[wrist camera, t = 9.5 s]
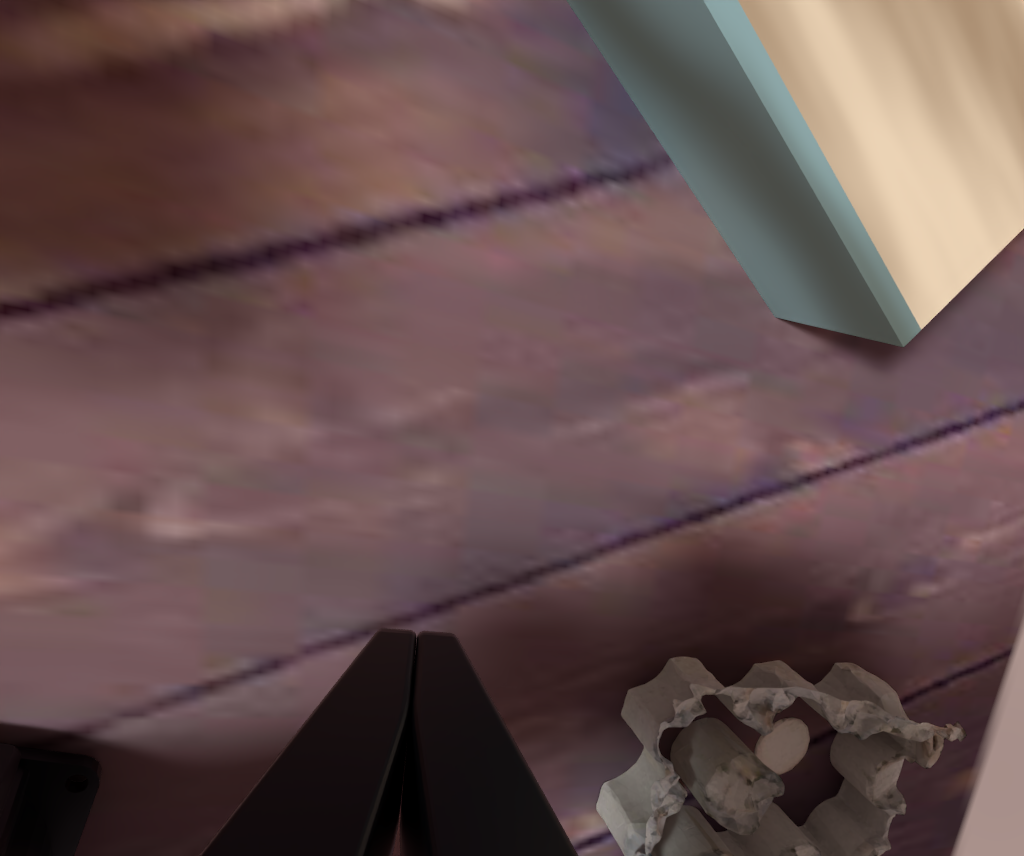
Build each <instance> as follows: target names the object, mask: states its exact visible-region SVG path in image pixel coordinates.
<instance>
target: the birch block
mask: <svg viewBox="0 0 1024 856" xmlns="http://www.w3.org/2000/svg"><path fill="white" fill-rule="evenodd" d="M567 2H568V3H569V5H570V6H571V8H572V9H573V11H574V12H575V14H576V15H577V17H578V18H579V20H580V21H581V23H582V24H583V26H584V28H585V29H586V31H587V32H588V34H589V35H590V37H591V38H592V40H593V41H594V43H595V44H596V46H597V47H598V49H599V50H600V52H601V53H602V55H603V56H604V58H605V59H606V61H607V62H608V64H609V66H610V67H611V69H612V70H613V72H614V73H615V75H616V76H617V78H618V79H619V81H620V82H621V84H622V85H623V87H624V88H625V90H626V91H627V93H628V94H629V96H630V97H631V99H632V100H633V102H634V104H635V105H636V107H637V108H638V110H639V111H640V113H641V114H642V116H643V117H644V119H645V120H646V122H647V123H648V125H649V126H650V128H651V129H652V131H653V132H654V134H655V135H656V137H657V139H658V140H659V142H660V143H661V145H662V146H663V148H664V149H665V151H666V152H667V154H668V155H669V157H670V158H671V160H672V161H673V163H674V164H675V166H676V167H677V169H678V170H679V172H680V173H681V175H682V177H683V178H684V180H685V181H686V183H687V184H688V186H689V187H690V189H691V190H692V192H693V193H694V195H695V196H696V198H697V199H698V201H699V202H700V204H701V205H702V207H703V208H704V210H705V211H706V213H707V215H708V216H709V218H710V219H711V221H712V222H713V224H714V225H715V227H716V228H717V230H718V231H719V233H720V234H721V236H722V237H723V239H724V240H725V242H726V243H727V245H728V246H729V248H730V249H731V251H732V253H733V254H734V256H735V257H736V259H737V260H738V262H739V263H740V265H741V266H742V268H743V269H744V271H745V272H746V274H747V275H748V277H749V278H750V280H751V281H752V283H753V284H754V286H755V288H756V289H757V291H758V292H759V294H760V295H761V297H762V298H763V300H764V301H765V303H766V304H767V306H768V307H769V309H770V310H771V312H772V313H773V315H774V316H775V317H776V318H781V319H785V320H789V321H793V322H798V323H802V324H806V325H811V326H815V327H819V328H823V329H828V330H832V331H836V332H840V333H845V334H849V335H853V336H858V337H862V338H866V339H870V340H875V341H879V342H883V343H888V344H892V345H896V346H900V347H904V346H905V345H906V344H907V343H908V342H909V341H910V340H911V339H913V338H914V337H915V336H916V335H917V334H918V333H919V332H920V331H921V330H922V329H923V328H924V327H925V326H926V325H927V324H928V323H929V322H930V321H931V320H932V319H933V318H934V317H935V316H936V315H937V314H938V313H939V312H940V311H941V310H942V309H943V308H944V307H945V306H946V305H947V304H948V303H949V302H950V301H951V300H952V299H953V298H954V297H955V296H956V295H957V294H958V293H959V292H960V291H961V290H962V289H963V288H964V287H965V286H966V285H967V284H968V283H969V282H970V281H971V280H972V279H973V278H974V277H975V276H976V275H977V274H978V273H979V272H980V271H981V270H982V269H983V268H984V267H985V266H986V265H987V264H988V263H989V262H990V261H991V260H992V259H993V258H994V257H995V256H996V255H997V254H998V253H999V252H1000V251H1001V250H1002V249H1003V248H1004V247H1005V246H1006V245H1007V244H1008V243H1009V242H1010V241H1011V240H1012V239H1013V238H1015V237H1016V236H1017V235H1018V234H1019V233H1020V232H1021V231H1022V230H1023V229H1024V0H567Z"/></svg>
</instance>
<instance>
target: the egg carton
mask: <svg viewBox="0 0 1024 856" xmlns="http://www.w3.org/2000/svg"><path fill="white" fill-rule="evenodd" d="M703 695H715V696H716V697H717V698H718V699H719V700H720V701H721V702H722V703H723V704H724V705H725V706H726V707H727V708H728V709H729V711H730V712H731V713H732V714H733V715H734V716H735V717H736V718H737V719H738V720H740V721H741V722H742V723H744V724H745V725H747V726H750V727H752V728H753V729H755V730H756V731H757V732H759V733H760V734H761V736H760V737H759V739H758V741H757V743H756V745H755V751H754V753H753V752H752V751H751V750H750V749H749V748H748V747H747V746H746V745H745V744H744V743H743V742H742V741H741V740H740V739H739V738H738V737H737V736H736V735H735V734H734V733H733V732H732V730H731V729H730V728H729V727H728V726H727V725H726V724H724V723H723V722H722V721H720V720H718V719H717V718H708V717H707V718H703V719H699V720H696V721H694V722H692V721H693V719H694V718H695V717H696V716H699V715H702V714H706V710H705V708H704V706H703V704H702V702H701V698H702V696H703ZM798 696H799V697H800V698H802V699H803V700H804V701H805V702H806V703H807V704H808V705H809V706H811V707H812V708H813V709H814V710H815V711H816V712H818V713H819V714H820V715H821V716H823V717H824V718H825V719H826V720H827V721H828V722H829V723H830V724H831V726H832V727H833V728H834V729H835V730H837V731H838V733H837V735H836V736H835V738H834V740H833V743H832V745H831V751H830V761H831V764H832V765H833V767H834V768H835V769H836V770H837V771H838V772H839V773H840V774H841V775H842V776H843V777H844V778H845V779H844V781H843V782H842V785H841V788H840V790H839V792H838V794H837V795H836V796H835V797H833V798H830V799H828V800H825V801H824V802H822V803H821V804H819V805H818V806H817V807H816V808H815V809H814V810H813V811H812V812H811V814H810V815H809V817H808V819H807V821H806V822H805V824H804V825H803V826H799V827H797V826H796V825H795V824H794V823H793V821H792V820H791V819H790V818H789V817H788V816H787V815H786V814H785V813H784V812H783V811H782V809H781V808H780V807H779V806H778V805H777V804H775V803H773V802H772V801H773V798H774V797H779V796H781V795H783V793H784V790H785V786H784V784H783V782H782V779H781V777H780V776H778V775H780V774H783V773H785V772H787V771H790V770H792V769H793V768H794V766H795V765H797V764H798V763H799V762H800V761H801V759H802V758H803V757H804V755H805V754H806V752H807V749H808V745H809V742H810V737H809V735H810V734H809V731H808V727H807V725H806V724H805V723H804V722H803V721H802V720H801V719H797V718H794V717H790V718H787V719H786V718H784V719H783V720H781V719H780V720H778V721H777V722H775V723H773V719H774V717H775V715H776V714H777V713H780V712H781V711H782V710H784V709H786V708H788V707H789V706H790V705H792V704H793V702H794V701H795V699H796V698H797V697H798ZM621 716H622V718H623V719H624V720H625V721H626V723H627V724H628V726H629V727H630V728H631V729H632V730H633V731H634V733H635V734H636V736H637V737H638V739H639V740H640V742H641V743H642V744H643V746H644V749H643V751H642V754H641V756H640V757H639V759H638V761H637V762H636V763H635V764H634V765H633V766H632V767H631V768H630V769H629V770H628V771H626V772H625V773H623V774H622V775H620V776H618V777H617V778H616V779H615V778H614V779H612V780H610V781H607V782H605V783H604V784H603V786H602V788H601V791H600V796H599V800H598V802H597V804H596V805H597V808H596V810H597V811H598V813H599V814H600V816H601V817H602V819H603V820H604V821H605V823H606V824H607V827H608V828H609V830H610V831H611V833H612V835H613V836H614V838H615V840H616V841H617V843H618V845H619V846H620V848H621V850H622V852H623V854H624V856H880V855H881V854H883V853H884V852H885V851H886V850H890V849H891V845H890V843H889V840H888V838H887V837H888V832H889V827H890V824H891V822H892V819H893V818H894V817H895V816H896V814H899V815H904V814H905V812H906V803H905V800H904V797H903V795H902V794H901V793H900V791H899V790H898V789H897V787H896V782H897V780H898V777H899V774H900V771H901V768H902V765H903V762H904V759H906V760H907V761H909V762H910V763H913V762H916V763H917V764H919V765H921V766H922V767H924V768H925V769H927V768H931V767H932V766H933V765H934V764H935V762H936V761H937V760H938V758H939V756H940V754H941V751H942V748H943V745H944V739H948V740H950V741H954V740H956V739H959V741H962V740H963V739H964V738H965V737H966V736H967V735H966V732H965V730H964V729H963V728H962V727H961V725H960V724H959V723H958V722H956V723H955V724H954V726H953V725H951V724H946V725H945V726H944V727H938V726H935V725H932V724H929V723H917V722H914V721H912V720H909V718H908V717H907V715H906V713H905V712H904V710H903V708H902V705H901V702H900V700H899V697H898V695H897V693H896V692H895V691H894V690H893V689H892V688H891V687H890V686H889V685H888V684H887V683H886V682H885V681H883V680H881V679H880V678H878V677H877V676H875V675H873V674H871V673H869V672H867V671H865V670H864V669H862V668H861V667H859V666H858V665H856V664H853V663H848V662H845V663H835V664H834V666H833V667H832V669H831V671H830V672H829V673H828V674H827V675H826V676H825V677H824V678H823V679H822V680H821V681H820V682H819V683H817V684H815V685H813V684H812V683H810V682H808V681H806V680H805V679H803V678H802V677H801V676H800V675H799V674H798V673H797V672H795V671H793V670H792V669H791V668H790V667H789V666H788V665H787V664H785V663H784V662H782V661H781V660H776V661H770V662H765V663H756V664H754V665H753V667H752V668H751V669H750V671H749V672H748V673H747V674H746V675H745V676H744V678H743V679H742V680H741V681H739V682H737V683H735V684H734V685H731V686H728V687H724V686H723V685H722V684H721V683H720V682H719V681H717V680H716V678H715V677H714V676H713V675H712V674H711V673H710V672H708V671H707V670H706V668H705V667H704V666H703V664H702V663H701V662H700V661H699V660H698V659H697V658H691V657H675V658H671V659H669V660H668V662H667V663H666V665H665V667H664V668H663V670H662V671H661V672H660V673H659V674H658V676H657V677H655V678H654V679H653V680H651V681H649V682H648V683H646V684H643V685H640V686H637V687H635V688H632V689H629V690H628V692H627V695H626V698H625V701H624V706H623V709H622V712H621ZM691 722H692V723H691ZM668 727H685V728H684V729H683V730H682V731H681V732H680V733H679V734H678V736H677V738H676V739H675V741H674V742H673V744H672V746H671V753H670V760H671V762H670V761H669V760H667V759H666V758H664V757H663V756H662V754H661V753H660V750H659V747H658V745H659V739H660V737H661V734H662V732H663V730H665V729H666V728H668ZM674 770H675V771H676V772H675V771H674ZM680 778H681V780H682V781H683V782H684V784H685V785H686V786H687V787H688V789H689V790H690V791H691V793H692V794H693V795H694V797H695V798H696V800H697V801H698V802H699V804H700V805H701V806H702V808H703V809H704V811H705V812H706V814H707V815H709V816H710V817H712V818H713V819H715V820H716V821H717V822H718V823H719V824H720V825H722V826H723V827H725V828H726V829H728V830H727V831H723V832H715V831H714V829H713V828H712V827H711V825H710V824H709V823H708V822H707V820H706V819H705V818H704V817H703V815H702V814H701V813H700V811H699V810H698V809H697V808H695V807H692V806H687V805H683V803H684V801H685V798H686V797H687V792H686V790H685V789H684V788H683V786H682V785H681V784H680V783H679V781H678V780H679V779H680Z"/></svg>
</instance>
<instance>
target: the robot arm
mask: <svg viewBox="0 0 1024 856" xmlns="http://www.w3.org/2000/svg"><path fill="white" fill-rule="evenodd" d="M415 650H416V653H415ZM414 661H415V663H414ZM406 747H407V748H406ZM405 757H406V758H405ZM404 767H405V769H404ZM101 771H102V768H101V766H100V763H99V762H98V761H97V760H95V759H94V758H92V757H89V756H86V755H78V754H71V753H63V752H55V751H47V750H39V749H31V748H23V747H15V746H13V745H11V744H3V743H0V856H74V854H75V851H76V848H77V846H78V843H79V840H80V837H81V834H82V832H83V829H84V826H85V823H86V821H87V818H88V815H89V812H90V809H91V807H92V804H93V801H94V798H95V795H96V793H97V790H98V787H99V783H100V778H101ZM73 775H83V776H85V777H86V778H87V779H86V780H84V781H81V782H75V781H72V780H70V778H69V777H71V776H73ZM403 777H404V780H403ZM402 786H403V791H402ZM401 796H402V802H401ZM400 806H401V817H400V856H578V854H577V853H576V851H575V849H574V847H573V845H572V844H571V842H570V840H569V838H568V836H567V835H566V833H565V831H564V829H563V827H562V826H561V824H560V822H559V820H558V818H557V816H556V815H555V813H554V811H553V809H552V807H551V806H550V804H549V802H548V800H547V798H546V797H545V795H544V793H543V791H542V789H541V788H540V786H539V784H538V782H537V780H536V779H535V777H534V775H533V773H532V771H531V770H530V768H529V766H528V764H527V762H526V761H525V759H524V757H523V755H522V753H521V752H520V750H519V748H518V746H517V744H516V742H515V741H514V739H513V737H512V735H511V733H510V732H509V730H508V728H507V726H506V724H505V723H504V721H503V719H502V717H501V715H500V714H499V712H498V710H497V708H496V706H495V705H494V703H493V701H492V699H491V697H490V696H489V694H488V692H487V690H486V688H485V687H484V685H483V683H482V681H481V679H480V678H479V676H478V674H477V672H476V670H475V668H474V667H473V665H472V663H471V661H470V659H469V658H468V656H467V654H466V652H465V650H464V649H463V647H462V645H461V643H460V641H459V640H458V638H457V637H456V636H455V635H454V634H452V633H443V632H430V631H422V632H420V633H419V634H418V637H417V643H416V634H415V632H414V631H412V630H402V629H386V628H383V629H380V630H378V631H377V632H376V633H375V634H374V636H373V637H372V638H371V639H370V641H369V642H368V643H367V645H366V646H365V647H364V648H363V650H362V651H361V652H360V653H359V655H358V656H357V657H356V658H355V660H354V661H353V662H352V663H351V665H350V666H349V667H348V668H347V670H346V671H345V672H344V674H343V675H342V676H341V677H340V679H339V680H338V681H337V682H336V684H335V685H334V686H333V687H332V689H331V690H330V691H329V692H328V694H327V695H326V696H325V698H324V699H323V700H322V701H321V703H320V704H319V705H318V706H317V708H316V709H315V710H314V711H313V713H312V714H311V715H310V716H309V718H308V719H307V720H306V721H305V723H304V724H303V725H302V727H301V728H300V729H299V730H298V732H297V733H296V734H295V735H294V737H293V738H292V739H291V740H290V742H289V743H288V744H287V745H286V747H285V748H284V749H283V751H282V752H281V753H280V754H279V756H278V757H277V758H276V759H275V761H274V762H273V763H272V764H271V766H270V767H269V768H268V769H267V771H266V772H265V773H264V775H263V776H262V777H261V778H260V780H259V781H258V782H257V783H256V785H255V786H254V787H253V788H252V790H251V791H250V792H249V793H248V795H247V796H246V797H245V798H244V800H243V801H242V802H241V804H240V805H239V806H238V807H237V809H236V810H235V811H234V812H233V814H232V815H231V816H230V817H229V819H228V820H227V821H226V822H225V824H224V825H223V826H222V828H221V829H220V830H219V831H218V833H217V834H216V835H215V836H214V838H213V839H212V840H211V841H210V843H209V844H208V845H207V846H206V848H205V849H204V850H203V851H202V853H201V854H200V855H199V856H392V855H393V850H394V845H395V840H396V835H397V829H398V822H399V814H400Z"/></svg>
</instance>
